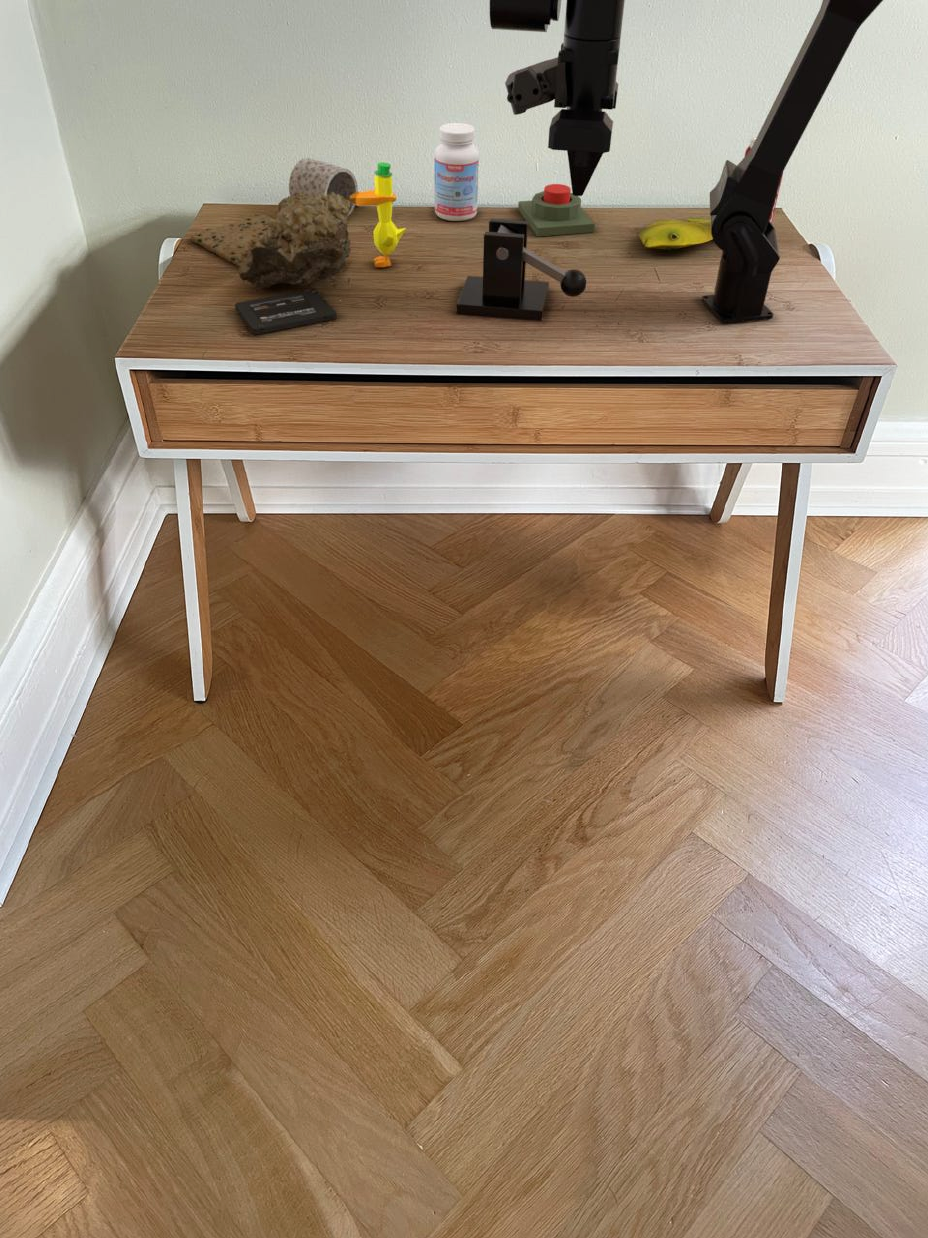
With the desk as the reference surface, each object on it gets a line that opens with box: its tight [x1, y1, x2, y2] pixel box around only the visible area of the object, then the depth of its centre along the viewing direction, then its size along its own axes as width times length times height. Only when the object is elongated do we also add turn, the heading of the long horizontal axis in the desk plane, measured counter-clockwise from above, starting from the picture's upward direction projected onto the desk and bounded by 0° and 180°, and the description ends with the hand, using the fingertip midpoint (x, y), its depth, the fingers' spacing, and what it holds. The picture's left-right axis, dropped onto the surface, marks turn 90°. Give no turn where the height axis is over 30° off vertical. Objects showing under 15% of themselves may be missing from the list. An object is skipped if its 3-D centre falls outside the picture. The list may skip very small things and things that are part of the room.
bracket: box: [456, 218, 550, 322], centre depth 109 cm, size 10×8×9 cm
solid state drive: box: [234, 288, 337, 335], centre depth 109 cm, size 7×10×1 cm
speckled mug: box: [288, 157, 359, 218], centre depth 131 cm, size 10×7×7 cm
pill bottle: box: [433, 122, 480, 222], centre depth 129 cm, size 6×6×11 cm
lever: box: [498, 225, 587, 298], centre depth 109 cm, size 12×3×3 cm, turn 81°
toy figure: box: [350, 161, 407, 268], centre depth 116 cm, size 7×4×12 cm, turn 102°
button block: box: [517, 190, 595, 237], centre depth 130 cm, size 10×8×3 cm
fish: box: [638, 216, 713, 251], centre depth 126 cm, size 3×16×10 cm
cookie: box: [191, 213, 276, 268], centre depth 124 cm, size 12×12×1 cm
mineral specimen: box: [234, 192, 352, 290], centre depth 113 cm, size 14×13×10 cm
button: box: [543, 183, 572, 205], centre depth 129 cm, size 4×4×2 cm
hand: (577, 194), depth 106 cm, fingers closed
